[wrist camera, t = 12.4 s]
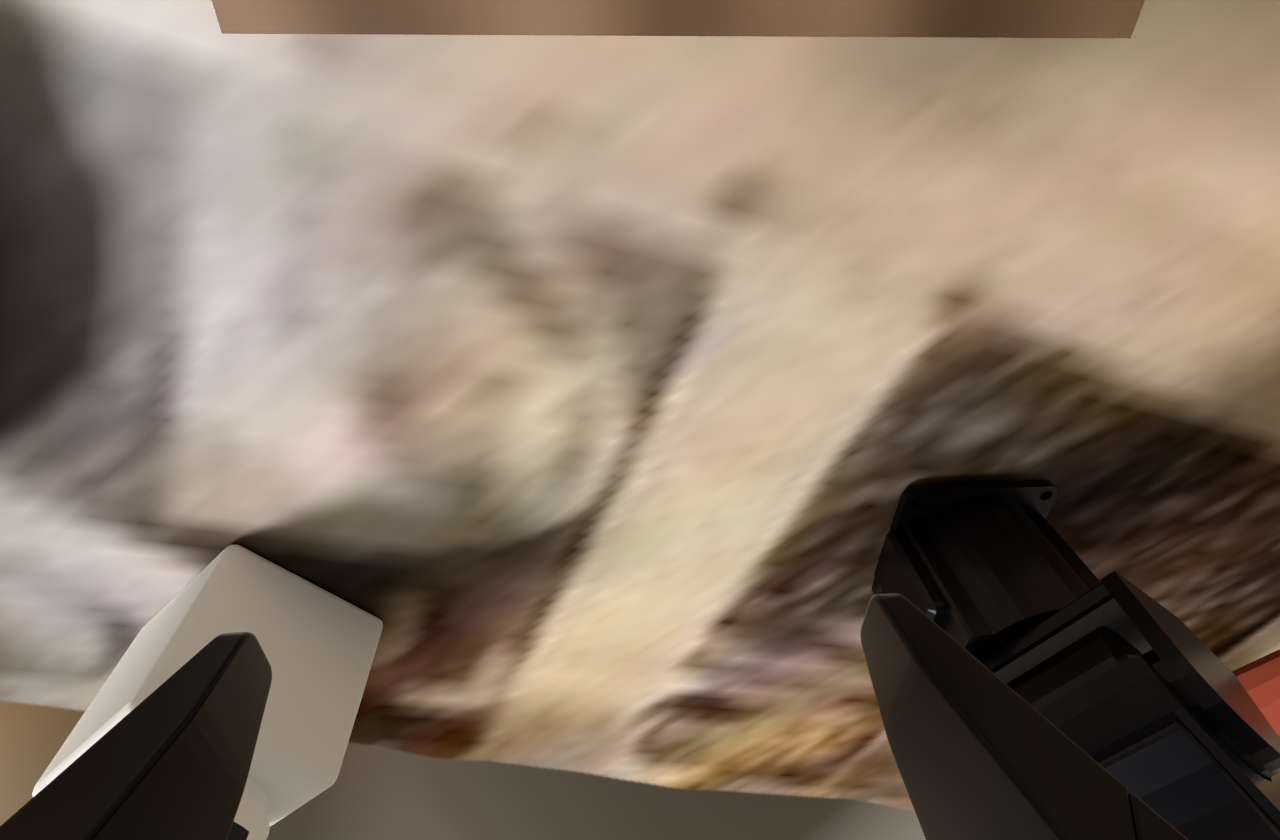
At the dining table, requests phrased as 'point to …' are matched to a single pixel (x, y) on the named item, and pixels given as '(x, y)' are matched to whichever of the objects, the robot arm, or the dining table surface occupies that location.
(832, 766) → the dining table surface
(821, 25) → the socket board
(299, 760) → the medicine bottle
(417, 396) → the dining table surface
